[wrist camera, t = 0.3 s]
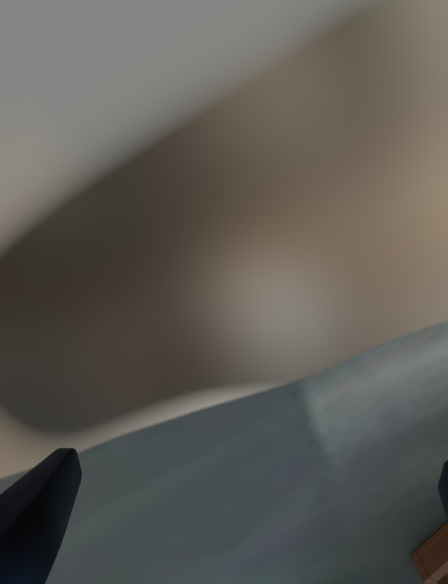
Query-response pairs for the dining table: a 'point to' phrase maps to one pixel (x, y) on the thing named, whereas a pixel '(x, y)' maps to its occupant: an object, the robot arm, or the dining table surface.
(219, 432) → the dining table surface
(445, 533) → the tray
